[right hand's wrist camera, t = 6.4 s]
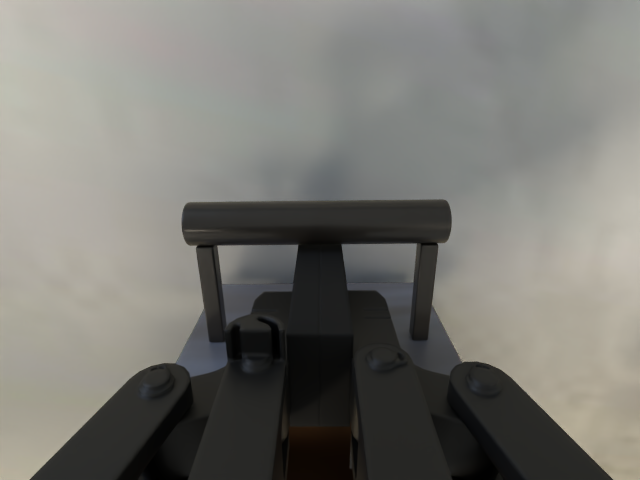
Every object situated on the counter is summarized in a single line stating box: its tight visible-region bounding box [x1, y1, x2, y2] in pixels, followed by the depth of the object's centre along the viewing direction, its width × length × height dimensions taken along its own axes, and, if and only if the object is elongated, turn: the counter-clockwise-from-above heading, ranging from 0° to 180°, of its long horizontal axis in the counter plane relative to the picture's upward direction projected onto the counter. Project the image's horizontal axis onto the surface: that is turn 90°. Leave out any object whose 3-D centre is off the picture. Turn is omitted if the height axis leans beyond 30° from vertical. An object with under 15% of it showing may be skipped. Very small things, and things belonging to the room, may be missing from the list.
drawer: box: [176, 200, 462, 480], centre depth 18 cm, size 22×10×7 cm, turn 1°
